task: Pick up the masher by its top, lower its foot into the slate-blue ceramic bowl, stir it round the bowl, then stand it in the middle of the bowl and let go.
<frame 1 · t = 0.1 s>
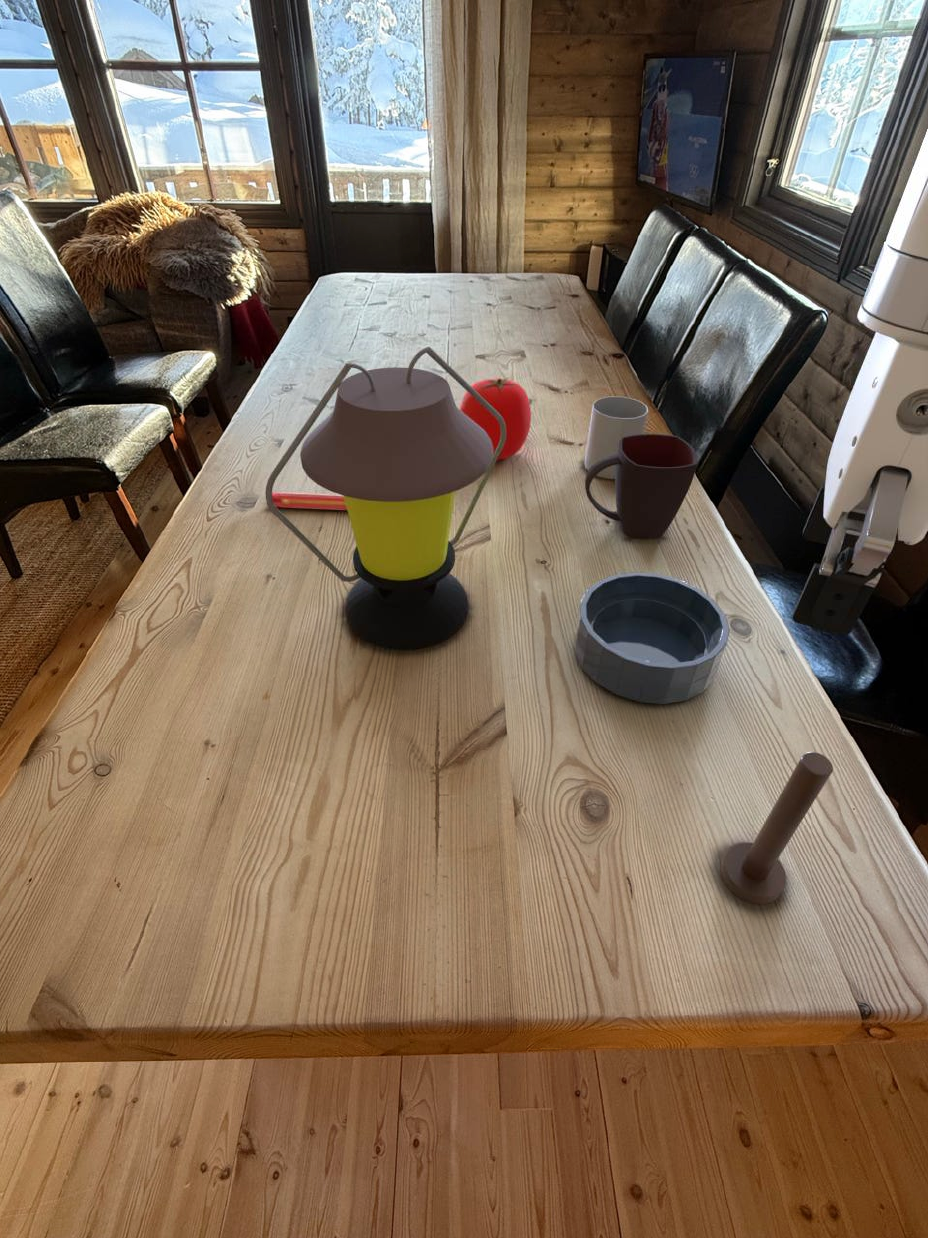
hand: (822, 580, 42), 25 cm above the table, tool pointing down, fingers open, 9 cm apart
masher: (750, 876, 54), on the table
mug: (626, 529, 93), on the table
cup: (609, 467, 107), on the table
tomato: (493, 454, 110), on the table
bowl: (642, 656, 74), on the table
red bar: (352, 509, 97), on the table
lantern: (405, 609, 80), on the table
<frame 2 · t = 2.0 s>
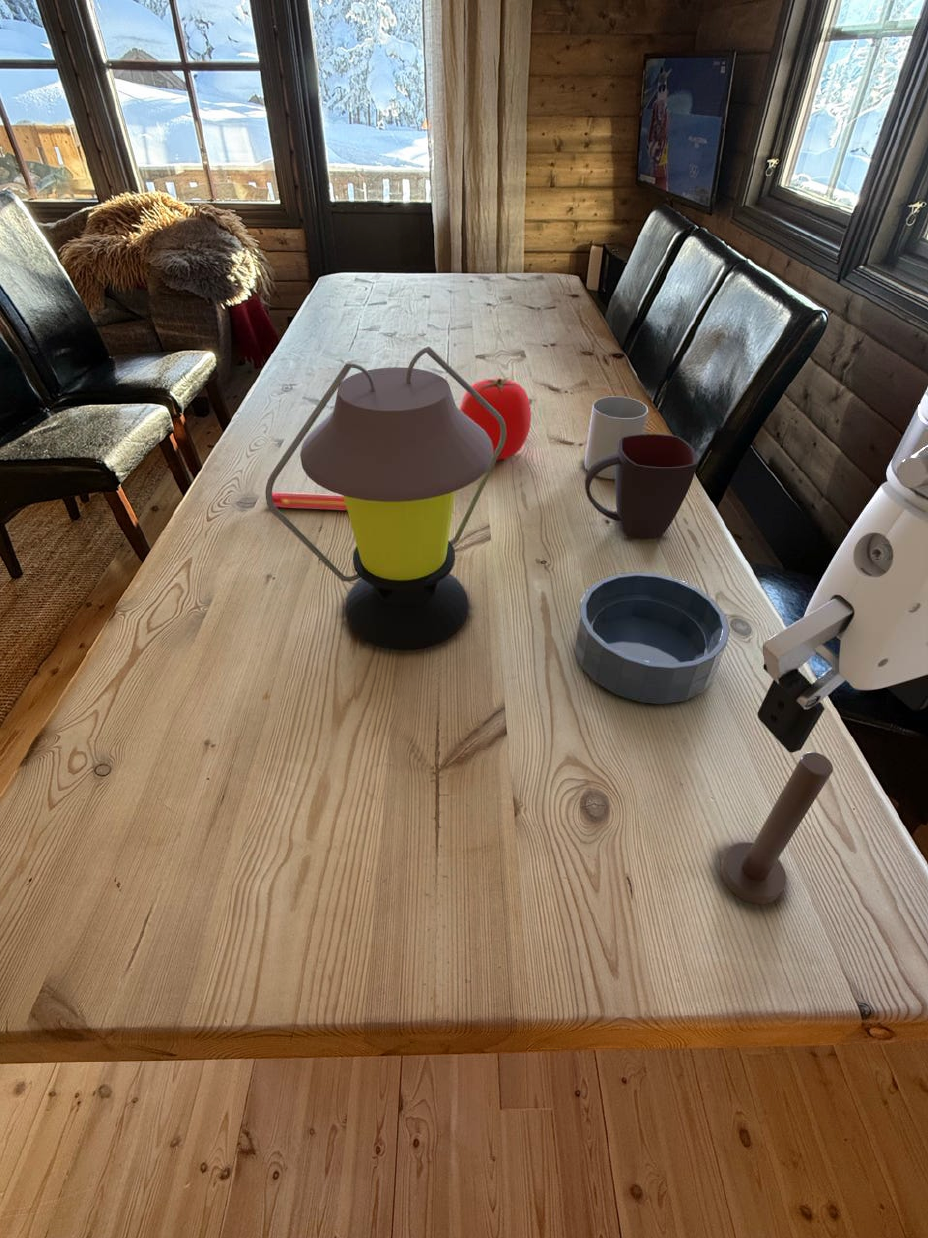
hand: (840, 713, 41), 20 cm above the table, tool pointing down, fingers open, 9 cm apart
nothing on the table moved.
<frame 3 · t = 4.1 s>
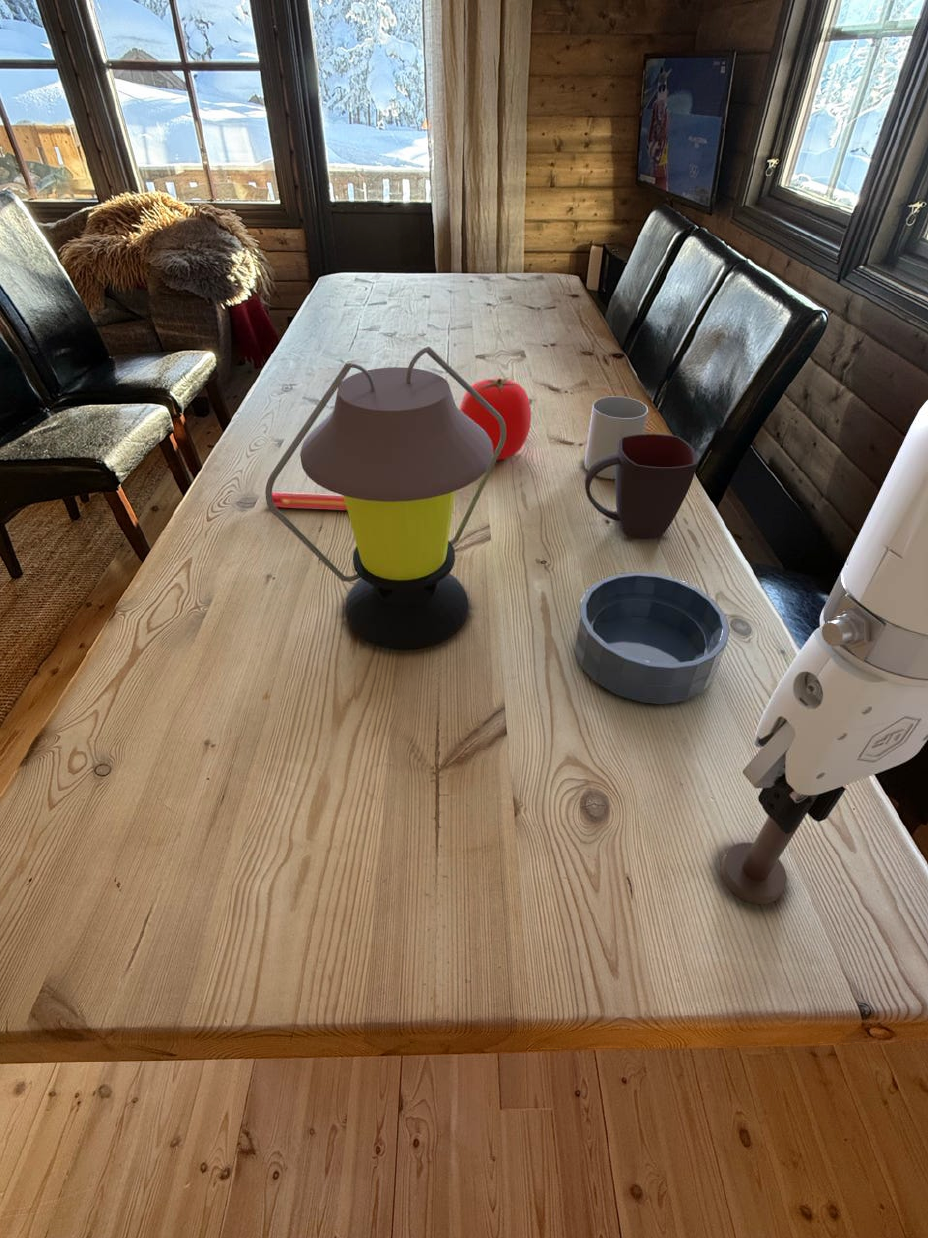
hand: (790, 809, 48), 10 cm above the table, tool pointing down, fingers closed on masher
masher: (751, 876, 54), on the table, touching gripper
everything else where it was.
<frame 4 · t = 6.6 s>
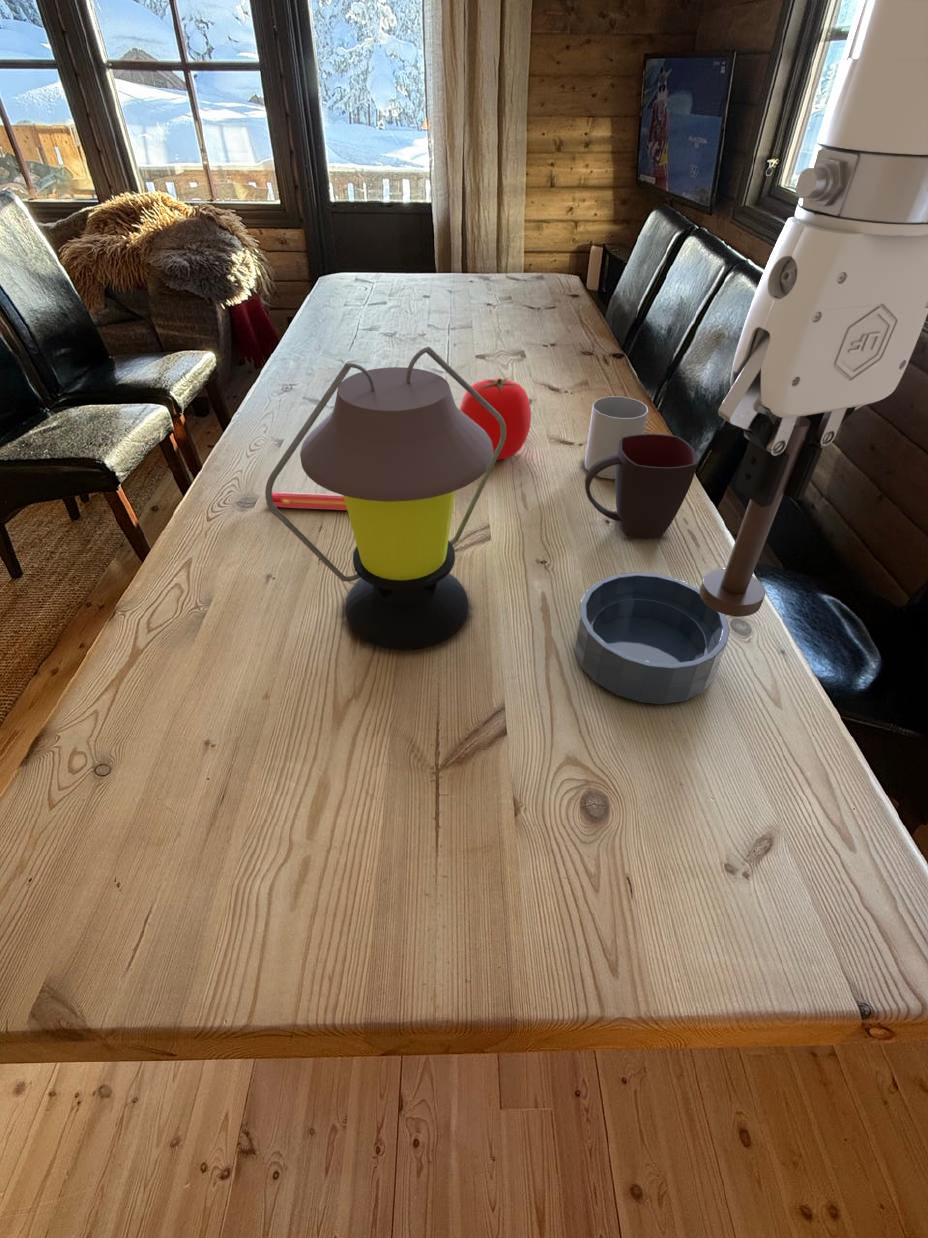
hand: (768, 492, 47), 27 cm above the table, tool pointing down, fingers closed on masher
masher: (729, 597, 53), point 18 cm above the table, touching gripper
everything else where it was.
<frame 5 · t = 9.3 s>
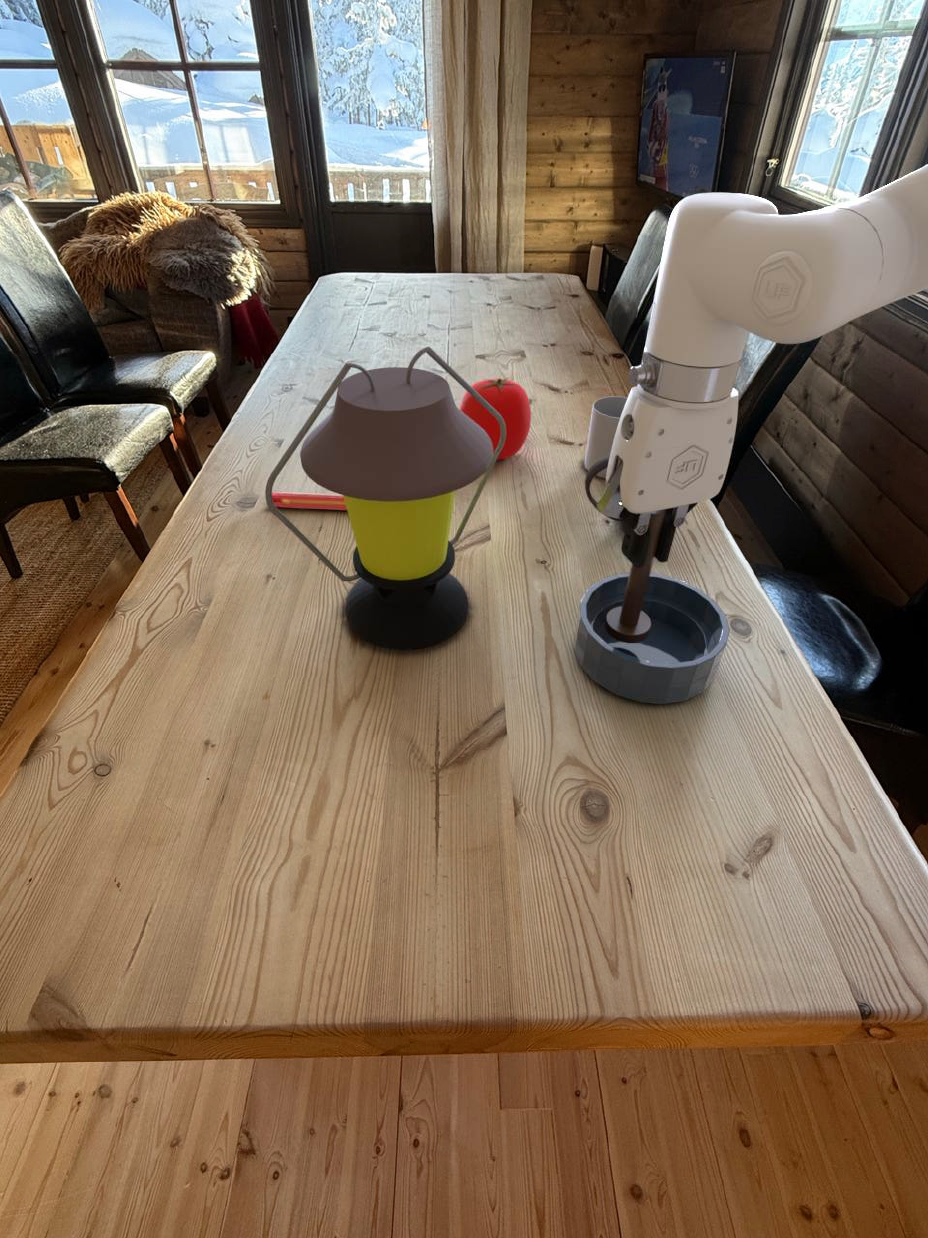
hand: (644, 556, 66), 13 cm above the table, tool pointing down, fingers closed on masher
masher: (626, 628, 72), point 3 cm above the table, touching gripper
everything else where it was.
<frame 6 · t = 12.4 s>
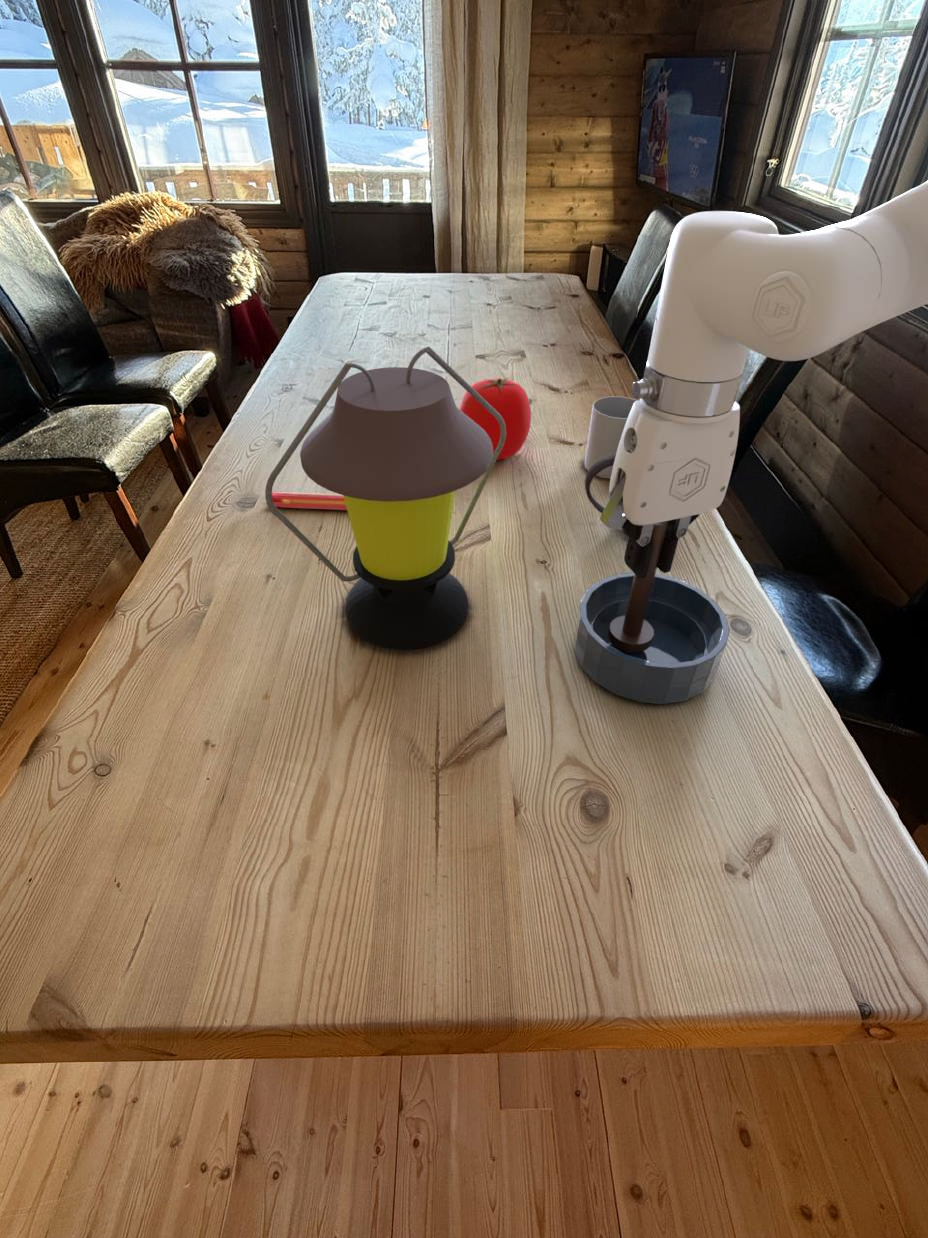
hand: (646, 566, 66), 12 cm above the table, tool pointing down, fingers closed on masher
masher: (629, 637, 73), point 2 cm above the table, touching gripper
everything else where it was.
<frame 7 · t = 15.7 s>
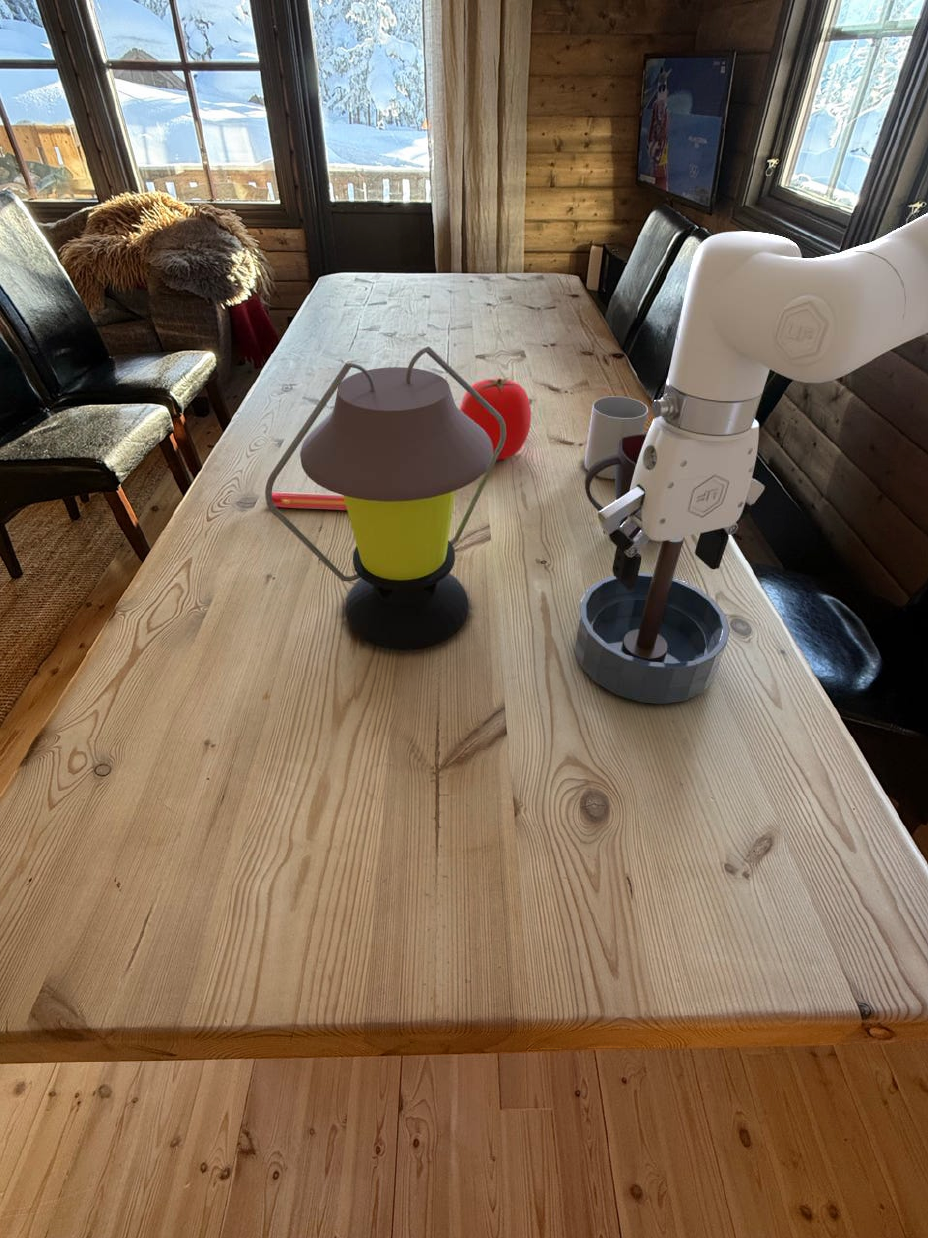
hand: (665, 571, 66), 12 cm above the table, tool pointing down, fingers open, 9 cm apart
masher: (643, 651, 73), point 1 cm above the table, touching bowl
everything else where it was.
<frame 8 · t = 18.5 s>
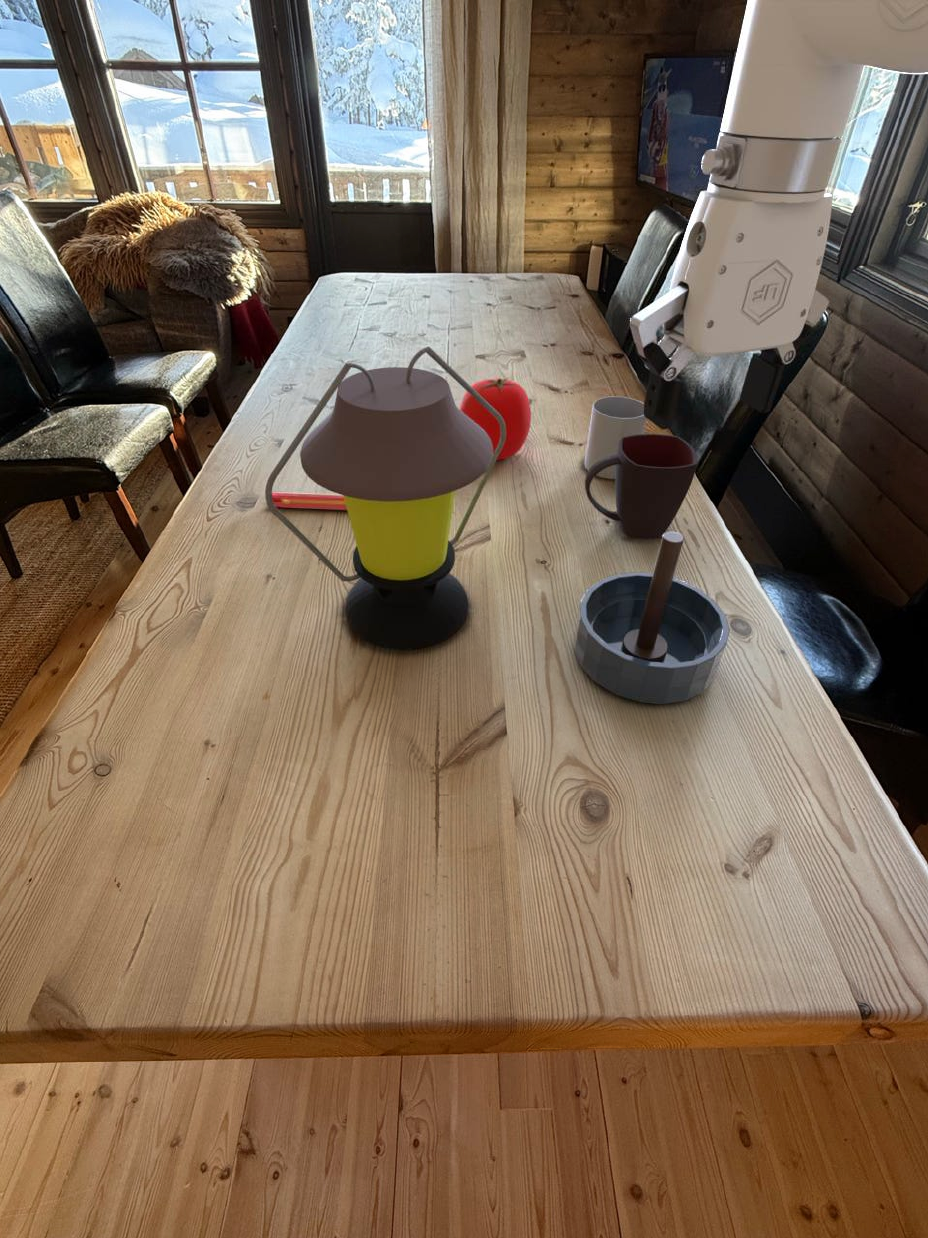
hand: (706, 414, 55), 28 cm above the table, tool pointing down, fingers open, 9 cm apart
nothing on the table moved.
at the end: masher inside the target area in the bowl (0.1 cm from its centre), point 0.8 cm above the bowl's base; masher tilted 0°; the gripper is holding nothing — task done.
